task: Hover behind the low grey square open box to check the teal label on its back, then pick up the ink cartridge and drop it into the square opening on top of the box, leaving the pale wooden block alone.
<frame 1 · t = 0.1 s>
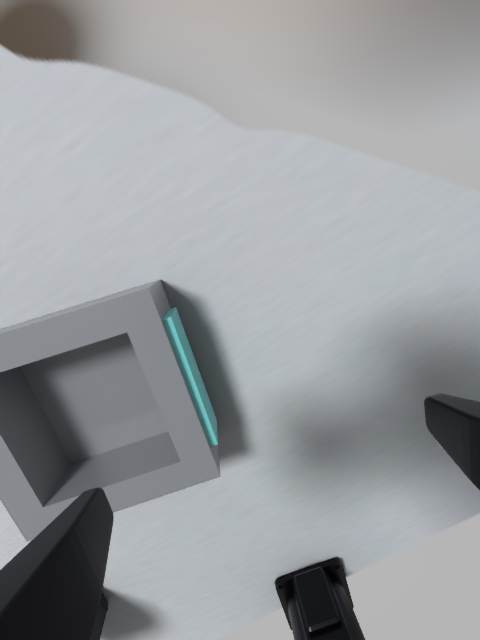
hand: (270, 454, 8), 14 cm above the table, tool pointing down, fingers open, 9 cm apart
grey square open box: (107, 390, 22), on the table
ink cartridge: (79, 599, 27), on the table
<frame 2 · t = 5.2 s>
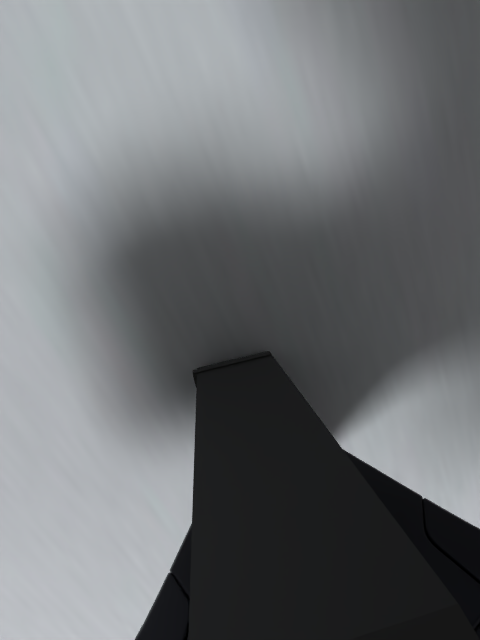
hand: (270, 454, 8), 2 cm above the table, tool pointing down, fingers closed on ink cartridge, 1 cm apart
ink cartridge: (244, 420, 10), on the table, touching gripper
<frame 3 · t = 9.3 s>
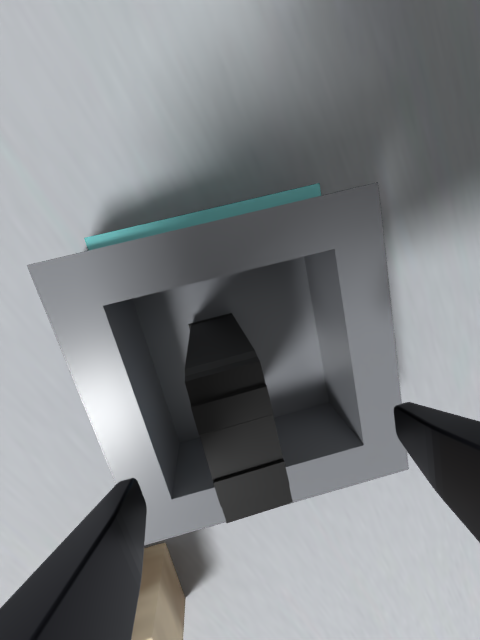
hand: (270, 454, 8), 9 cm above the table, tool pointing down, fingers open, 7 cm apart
grey square open box: (236, 348, 17), on the table
ink cartridge: (220, 356, 16), resting on grey square open box
wooden block: (138, 580, 20), on the table
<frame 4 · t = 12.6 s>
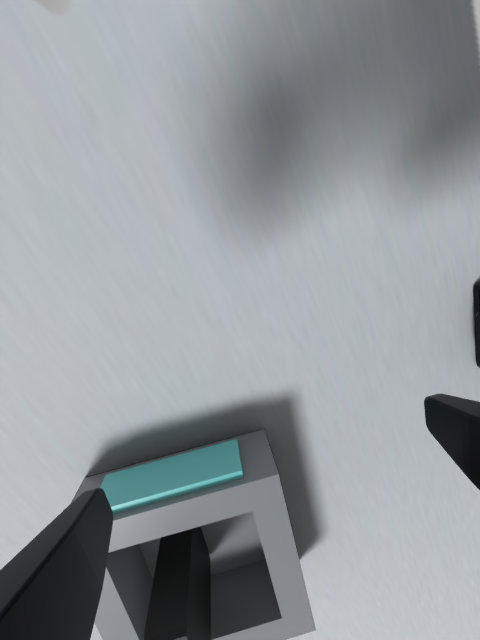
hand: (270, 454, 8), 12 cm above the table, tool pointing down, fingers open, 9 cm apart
grey square open box: (199, 524, 23), on the table
ink cartridge: (187, 532, 23), resting on grey square open box
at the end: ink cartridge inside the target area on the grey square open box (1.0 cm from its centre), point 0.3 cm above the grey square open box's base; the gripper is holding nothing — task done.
